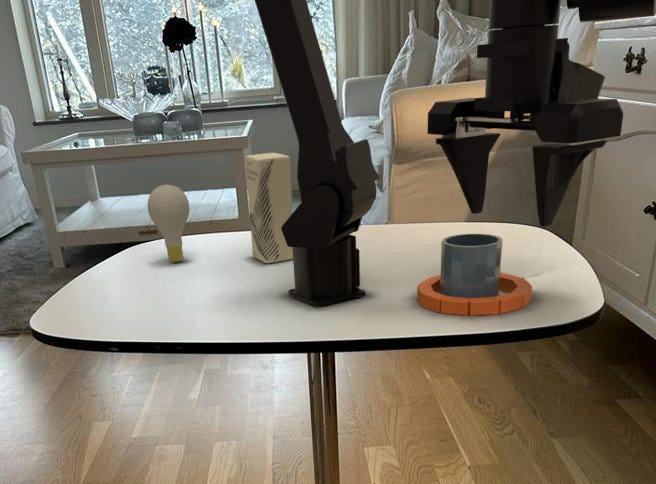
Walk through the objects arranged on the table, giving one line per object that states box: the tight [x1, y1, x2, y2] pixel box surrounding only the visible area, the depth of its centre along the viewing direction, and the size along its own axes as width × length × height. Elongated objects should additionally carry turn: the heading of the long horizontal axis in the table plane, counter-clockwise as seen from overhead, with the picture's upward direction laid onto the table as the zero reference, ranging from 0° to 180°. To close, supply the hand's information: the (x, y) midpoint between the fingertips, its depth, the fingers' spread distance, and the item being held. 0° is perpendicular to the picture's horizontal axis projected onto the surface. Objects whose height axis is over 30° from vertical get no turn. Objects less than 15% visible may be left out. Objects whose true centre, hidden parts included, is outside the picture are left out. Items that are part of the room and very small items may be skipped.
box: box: [244, 152, 293, 264], centre depth 97 cm, size 5×4×13 cm
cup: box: [439, 233, 503, 298], centre depth 78 cm, size 6×6×6 cm
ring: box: [416, 272, 533, 317], centre depth 78 cm, size 11×11×1 cm
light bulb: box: [146, 184, 190, 264], centre depth 100 cm, size 6×5×10 cm
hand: (509, 219), depth 71 cm, fingers open, 9 cm apart
